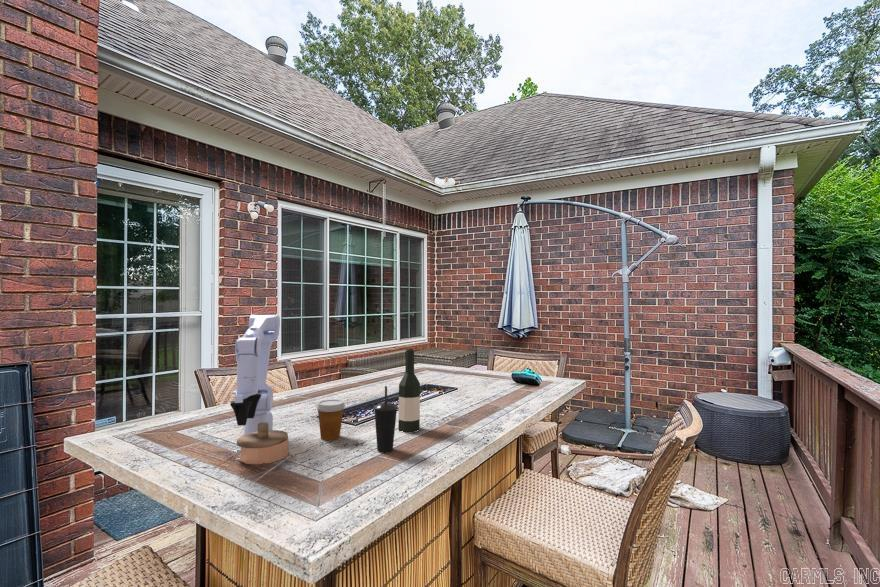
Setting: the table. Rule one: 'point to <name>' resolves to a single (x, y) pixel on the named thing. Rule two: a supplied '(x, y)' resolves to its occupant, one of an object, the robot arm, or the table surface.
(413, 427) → the wine bottle
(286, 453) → the bowl
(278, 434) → the lid
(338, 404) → the disposable coffee cup
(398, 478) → the table surface
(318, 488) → the table surface
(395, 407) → the drinking cup
